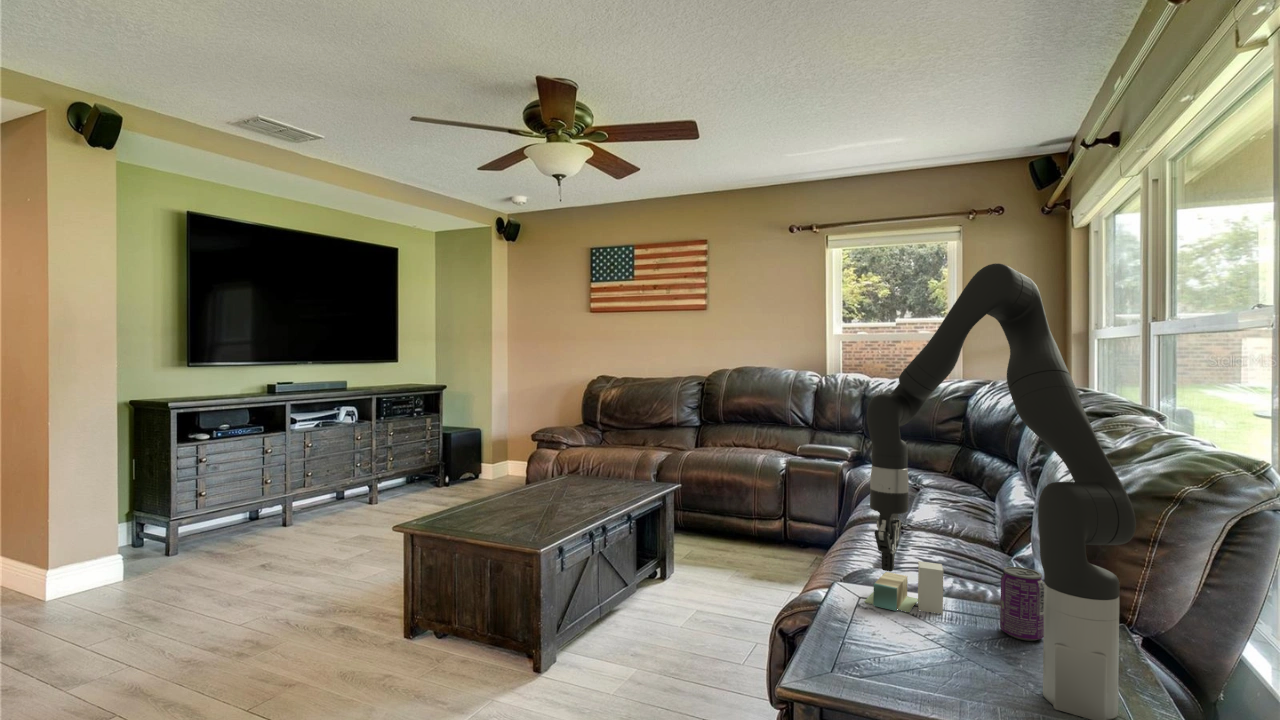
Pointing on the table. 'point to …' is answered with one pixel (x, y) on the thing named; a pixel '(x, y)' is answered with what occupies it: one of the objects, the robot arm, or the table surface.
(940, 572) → the grey block
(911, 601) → the mat
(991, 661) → the table surface
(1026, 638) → the beverage can
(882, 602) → the birch block
